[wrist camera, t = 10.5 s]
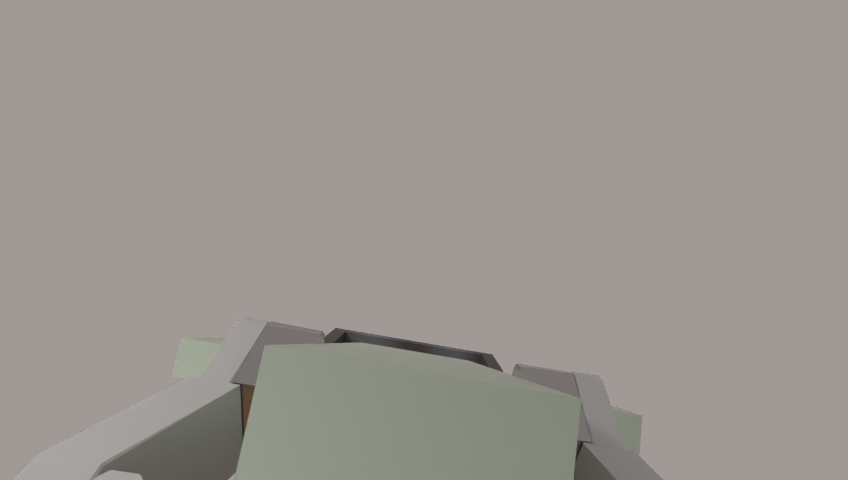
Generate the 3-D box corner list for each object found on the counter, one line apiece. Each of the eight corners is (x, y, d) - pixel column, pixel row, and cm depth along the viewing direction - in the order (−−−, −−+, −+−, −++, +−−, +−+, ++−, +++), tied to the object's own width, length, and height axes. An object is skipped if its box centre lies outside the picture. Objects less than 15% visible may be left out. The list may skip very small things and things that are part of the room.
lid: (-333, 448, 5) (-248, 258, 6) (286, 359, 31) (293, 326, 31) (1129, 701, 5) (1109, 487, 5) (529, 400, 30) (533, 366, 31)
